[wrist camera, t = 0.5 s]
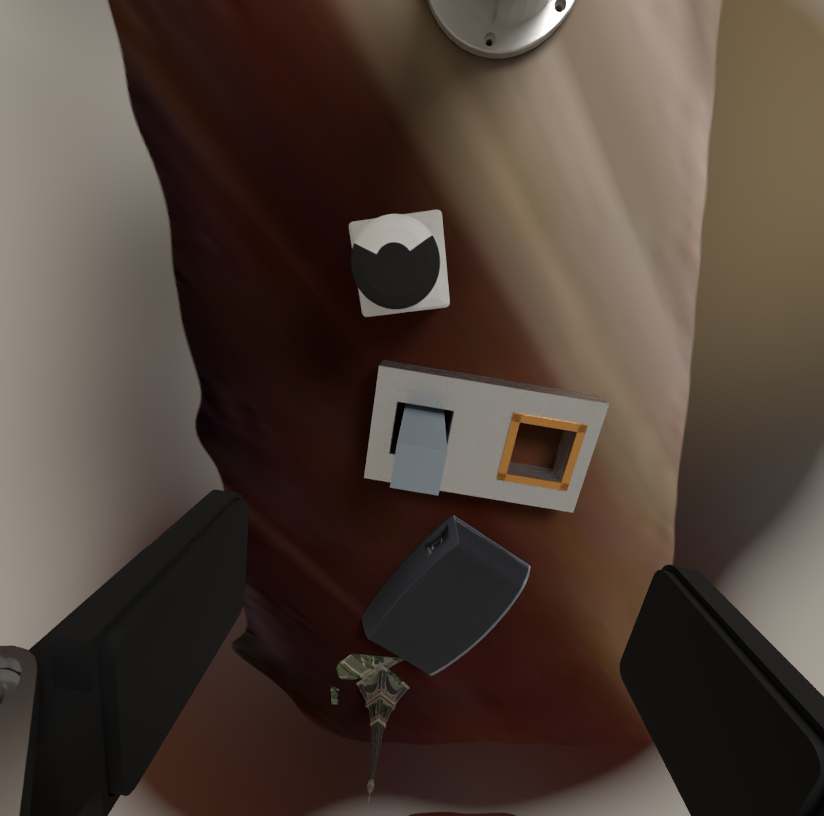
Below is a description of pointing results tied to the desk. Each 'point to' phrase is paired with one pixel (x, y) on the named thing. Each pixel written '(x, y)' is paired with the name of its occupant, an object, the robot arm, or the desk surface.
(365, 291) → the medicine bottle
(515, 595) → the external hard drive
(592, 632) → the desk surface
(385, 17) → the desk surface
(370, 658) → the eiffel tower figurine
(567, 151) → the desk surface
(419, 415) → the peg
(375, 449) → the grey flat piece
